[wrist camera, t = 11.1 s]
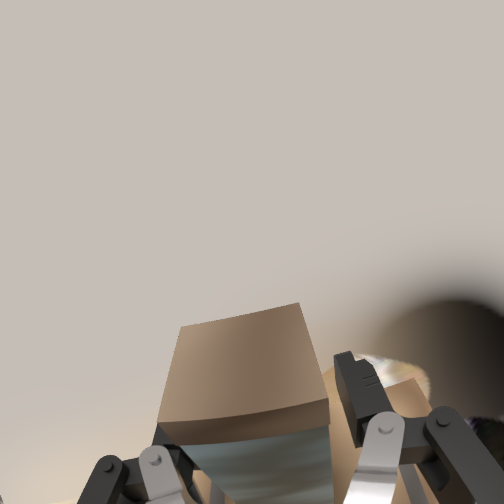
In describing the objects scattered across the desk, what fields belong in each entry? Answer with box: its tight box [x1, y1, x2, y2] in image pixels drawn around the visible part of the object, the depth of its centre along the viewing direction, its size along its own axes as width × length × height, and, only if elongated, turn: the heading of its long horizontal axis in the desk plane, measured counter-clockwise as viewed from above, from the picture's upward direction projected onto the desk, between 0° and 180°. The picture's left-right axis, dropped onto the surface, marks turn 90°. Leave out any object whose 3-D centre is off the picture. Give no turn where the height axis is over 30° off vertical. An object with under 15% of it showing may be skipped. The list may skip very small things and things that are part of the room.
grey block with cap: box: [157, 303, 334, 504], centre depth 10 cm, size 4×4×13 cm
